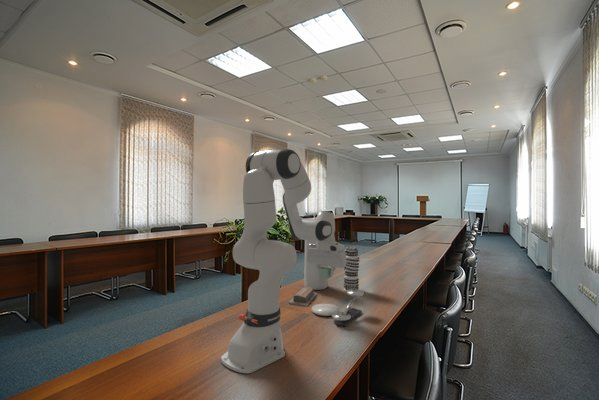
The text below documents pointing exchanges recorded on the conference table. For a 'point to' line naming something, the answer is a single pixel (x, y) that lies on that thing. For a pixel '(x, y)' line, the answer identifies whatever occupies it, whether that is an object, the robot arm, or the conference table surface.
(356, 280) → the decorative candle
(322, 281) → the vase
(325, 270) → the block
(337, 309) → the dish
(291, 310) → the conference table surface
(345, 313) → the balance
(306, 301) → the packaged product
